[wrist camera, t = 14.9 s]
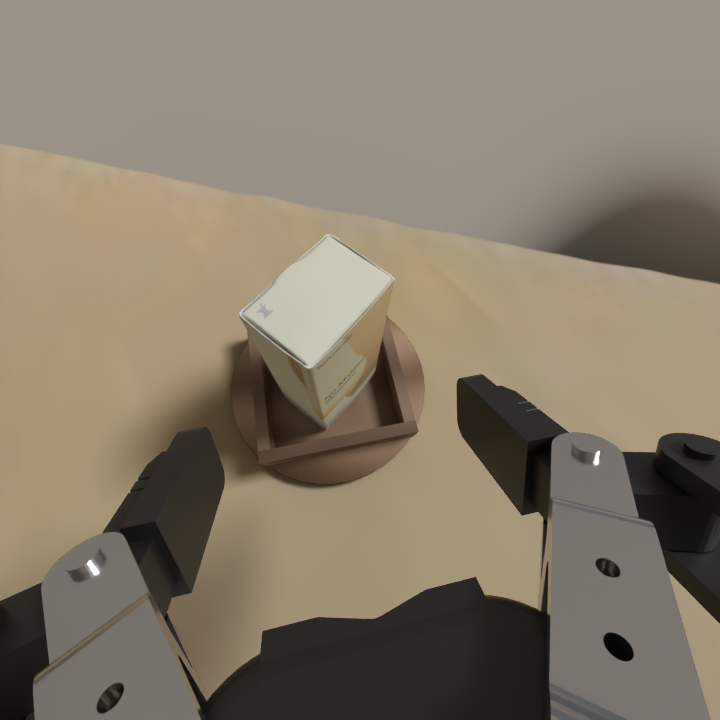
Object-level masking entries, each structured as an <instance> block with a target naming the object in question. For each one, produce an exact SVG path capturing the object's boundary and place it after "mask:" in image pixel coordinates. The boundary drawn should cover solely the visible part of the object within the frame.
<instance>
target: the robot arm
mask: <svg viewBox="0 0 720 720" xmlns="http://www.w3.org/2000/svg"><path fill="white" fill-rule="evenodd" d="M457 421H458V426H459V430H460V433H461V435H462V437H463V438H464V440H465V441H466V442H467V444H468V445H469V446H470V447H471V449H472V450H473V451H474V453H475V454H476V455H477V457H478V458H479V459H480V461H481V462H482V463H483V465H484V466H485V467H486V469H487V470H488V471H489V473H490V474H491V475H492V477H493V478H494V479H495V481H496V482H497V483H498V485H499V486H500V487H501V489H502V490H503V491H504V492H505V494H506V495H507V496H508V498H509V499H510V500H511V502H512V503H513V504H514V506H515V507H516V508H517V510H518V511H519V512H520V514H521V515H526V514H530V513H535V512H539V513H540V514H541V516H542V517H543V524H542V541H541V562H540V583H539V599H538V609H536V608H534V607H531V606H529V605H526V604H524V603H521V602H518V601H515V600H511V599H508V598H504V597H498V596H491V595H484V593H483V591H482V589H481V587H480V585H479V583H478V581H477V579H476V577H474V578H470V579H466V580H462V581H458V582H454V583H450V584H446V585H443V586H439V587H435V588H431V589H427V590H425V591H423V592H421V593H419V594H418V595H416V596H414V597H413V598H411V599H409V600H408V601H406V602H404V603H402V604H401V605H399V606H397V607H396V608H394V609H392V610H391V611H389V612H387V613H385V614H384V615H382V616H380V617H378V618H375V619H351V618H324V617H317V618H313V619H309V620H305V621H301V622H297V623H293V624H289V625H285V626H281V627H277V628H273V629H269V630H265V631H263V633H262V643H261V653H260V654H259V655H257V656H255V657H254V658H252V659H251V660H249V661H248V662H247V663H245V664H244V665H242V666H241V667H240V668H238V669H237V670H236V671H235V672H234V673H233V674H232V675H231V676H229V677H228V678H227V679H226V680H225V681H224V682H223V683H222V684H221V685H220V686H219V687H218V689H217V690H216V691H215V692H214V693H213V694H212V695H211V696H210V698H209V696H208V694H207V692H206V690H205V688H204V687H203V685H202V683H201V681H200V679H199V676H198V674H197V672H196V670H195V668H194V666H193V664H192V662H191V660H190V657H189V655H188V653H187V651H186V649H185V647H184V645H183V643H182V640H181V638H180V636H179V634H178V632H177V630H176V628H175V626H174V624H173V621H172V619H171V617H170V616H169V614H168V612H167V610H168V607H169V604H170V602H171V599H172V597H176V596H181V595H185V594H189V593H192V590H193V587H194V583H195V580H196V577H197V573H198V570H199V567H200V564H201V560H202V557H203V554H204V551H205V547H206V544H207V541H208V538H209V534H210V531H211V528H212V525H213V521H214V518H215V515H216V511H217V508H218V505H219V502H220V498H221V495H222V492H223V489H224V482H225V477H224V470H223V466H222V463H221V461H220V458H219V455H218V452H217V450H216V447H215V444H214V442H213V439H212V436H211V433H210V431H209V430H208V429H207V428H206V427H203V428H198V429H192V430H187V431H182V432H179V433H178V434H177V435H176V437H175V438H174V440H173V441H172V443H171V445H170V446H169V448H168V450H167V451H165V452H161V453H160V454H159V455H158V456H157V457H156V458H155V459H153V460H152V461H151V462H150V463H149V464H148V465H147V466H146V467H145V469H144V470H143V472H142V473H141V475H140V477H139V478H138V481H137V482H136V483H135V484H134V486H133V487H132V489H131V490H130V491H131V493H128V495H127V496H126V498H125V499H124V501H123V502H122V504H121V505H120V507H119V508H118V510H117V511H116V513H115V515H114V516H113V518H112V519H111V521H110V522H109V524H108V525H107V527H106V528H105V530H104V531H103V533H102V534H100V535H97V536H94V537H92V538H89V539H87V540H85V541H84V542H82V543H80V544H78V545H77V546H75V547H74V548H72V549H71V550H70V551H68V552H67V553H66V554H65V555H63V556H62V557H61V558H60V559H59V560H58V561H57V562H56V563H55V564H54V565H53V566H52V567H51V569H50V570H49V571H48V573H47V574H46V576H45V578H44V580H43V582H42V583H40V584H38V585H35V586H33V587H31V588H29V589H26V590H24V591H22V592H20V593H18V594H15V595H13V596H11V597H9V598H6V599H4V600H2V601H0V720H710V716H709V713H708V709H707V706H706V702H705V699H704V696H703V692H702V689H701V685H700V682H699V678H698V675H697V671H696V668H695V664H694V661H693V657H692V654H691V650H690V647H689V643H688V640H687V636H686V633H685V629H684V626H683V623H682V619H681V616H680V612H679V609H678V605H677V602H676V598H675V595H674V591H673V588H672V584H671V581H670V577H669V574H668V572H669V573H670V574H671V575H672V576H673V577H674V578H675V579H676V580H677V581H678V582H679V583H680V584H681V585H682V586H683V587H684V588H685V589H686V590H687V591H688V592H689V593H690V594H691V595H692V596H693V597H694V598H695V599H696V600H697V601H698V602H699V603H700V604H701V605H702V606H703V607H704V608H705V609H706V610H707V611H708V612H709V613H710V614H711V615H712V616H713V617H714V618H715V619H716V620H717V621H718V622H719V623H720V442H719V441H717V440H714V439H711V438H708V437H704V436H700V435H695V434H687V433H672V434H667V435H664V436H662V437H661V438H660V439H659V442H658V446H657V449H656V453H654V452H621V451H620V450H619V449H618V448H617V447H616V446H615V445H614V444H612V443H610V442H609V441H607V440H605V439H603V438H600V437H597V436H594V435H591V434H586V433H576V432H572V433H569V432H568V431H566V430H565V429H564V428H562V427H561V426H560V425H559V424H557V423H556V422H555V421H553V420H552V419H551V418H550V417H548V416H547V415H546V414H544V413H543V412H542V411H540V410H539V409H537V408H536V407H535V406H534V405H533V404H531V403H530V402H527V400H526V399H525V398H524V397H522V396H521V395H520V394H519V393H517V392H516V391H513V390H511V389H508V388H506V387H503V386H496V385H495V384H494V383H492V382H491V381H490V380H489V379H488V378H486V377H485V376H484V375H482V374H480V375H474V376H469V377H464V378H459V379H458V381H457Z"/></svg>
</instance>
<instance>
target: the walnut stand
mask: <svg viewBox="0 0 720 720" xmlns="http://www.w3.org/2000/svg"><path fill="white" fill-rule="evenodd" d="M247 331H248V330H247ZM424 391H425V386H424V375H423V371H422V366H421V363H420V360H419V357H418V355H417V352H416V351H415V349H414V347H413V345H412V343H411V342H410V340H409V339H408V337H407V336H406V335H405V333H404V332H403V331H402V330H401V329H400V328H399V327H398V326H397V325H396V324H395V323H394V322H392V321H391V320H390V319H389V318H388V316H386V321H385V326H384V331H383V336H382V341H381V345H380V350H379V355H378V360H377V365H376V370H375V373H374V375H373V376H372V377H371V379H370V380H369V381H368V382H367V384H366V385H365V386H364V387H363V389H362V390H361V391H360V393H359V394H358V395H357V396H356V398H355V399H354V400H353V401H352V402H351V403H350V405H349V406H348V407H347V408H346V409H345V410H344V412H343V413H342V414H341V415H340V416H339V417H338V418H337V419H336V421H335V422H334V423H333V424H332V425H331V426H330V427H329V428H328V429H327V430H323V429H322V428H321V427H319V426H318V425H317V424H315V423H314V422H313V421H312V420H310V419H309V418H308V417H307V416H306V415H304V414H303V413H302V412H301V411H300V410H299V409H298V408H296V407H295V406H294V405H293V404H292V403H291V402H290V401H289V400H287V399H286V398H285V396H284V394H283V393H282V391H281V389H280V387H279V386H278V384H277V382H276V380H275V378H274V377H273V375H272V373H271V371H270V370H269V368H268V366H267V364H266V363H265V361H264V359H263V357H262V355H261V353H260V352H259V350H258V348H257V346H256V345H255V343H254V341H253V339H252V338H251V336H250V334H249V332H248V343H247V345H246V346H245V348H244V350H243V351H242V353H241V355H240V358H239V360H238V362H237V365H236V368H235V372H234V375H233V382H232V407H233V413H234V417H235V420H236V424H237V426H238V428H239V430H240V433H241V435H242V437H243V438H244V440H245V441H246V443H247V445H248V446H249V447H250V448H251V450H252V451H253V452H254V453H255V454H256V455H257V457H258V460H259V464H260V465H263V466H266V467H267V466H270V467H271V468H273V469H274V470H276V471H278V472H279V473H282V474H284V475H286V476H288V477H291V478H293V479H297V480H300V481H304V482H309V483H316V484H336V483H343V482H349V481H352V480H355V479H359V478H362V477H364V476H366V475H368V474H371V473H373V472H374V471H376V470H378V469H379V468H381V467H382V466H384V465H385V464H386V463H388V462H389V461H390V460H391V459H392V458H394V457H395V456H396V455H397V454H398V452H399V451H400V450H401V449H402V448H403V447H404V446H405V444H406V443H407V442H408V440H409V439H410V437H413V436H414V435H415V434H416V433H417V432H418V428H417V424H418V421H419V418H420V415H421V412H422V408H423V403H424Z"/></svg>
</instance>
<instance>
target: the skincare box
mask: <svg viewBox="0 0 720 720" xmlns="http://www.w3.org/2000/svg"><path fill="white" fill-rule="evenodd" d="M393 283H394V277H393V276H391V275H390V274H388V273H387V272H385V271H384V270H383V269H381V268H380V267H379V266H377V265H376V264H374V263H373V262H371V261H370V260H369V259H367V258H366V257H364V256H363V255H362V254H360V253H358V252H357V251H356V250H354V249H353V248H351V247H350V246H349V245H347V244H346V243H344V242H343V241H341V240H340V239H338V238H337V237H335V236H334V235H332V234H328V235H326V236H324V237H323V238H322V239H321V240H320V241H319V242H318V243H317V244H315V245H314V246H313V247H312V248H311V249H310V250H309V251H308V252H306V253H305V254H304V255H303V256H302V257H301V258H300V259H298V260H297V261H296V262H295V263H294V264H292V265H291V266H290V267H288V268H287V269H286V270H285V271H284V272H283V273H282V274H281V275H280V276H279V277H278V278H277V279H276V280H275V281H274V282H273V283H272V284H271V285H269V286H268V287H267V288H266V289H265V290H264V291H263V292H262V293H261V294H259V295H258V296H257V297H256V298H255V299H254V300H253V301H252V302H250V303H249V304H248V305H247V306H246V307H245V308H244V309H242V310H241V311H240V312H239V316H240V318H241V320H242V322H243V324H244V325H245V327H246V329H247V330H248V332H249V334H250V336H251V338H252V339H253V341H254V343H255V345H256V346H257V348H258V350H259V352H260V353H261V355H262V357H263V359H264V361H265V363H266V364H267V366H268V368H269V370H270V371H271V373H272V375H273V377H274V378H275V380H276V382H277V384H278V386H279V387H280V389H281V391H282V393H283V394H284V396H285V398H286V399H287V400H289V401H290V402H291V403H292V404H293V405H294V406H295V407H296V408H298V409H299V410H300V411H301V412H302V413H303V414H304V415H306V416H307V417H308V418H309V419H310V420H312V421H313V422H314V423H315V424H317V425H318V426H319V427H321V428H322V429H323V430H327V429H328V428H329V427H330V426H331V425H332V424H333V423H334V422H335V421H336V419H337V418H338V417H339V416H340V415H341V414H342V413H343V412H344V410H345V409H346V408H347V407H348V406H349V405H350V403H351V402H352V401H353V400H354V399H355V398H356V396H357V395H358V394H359V393H360V391H361V390H362V389H363V387H364V386H365V385H366V384H367V382H368V381H369V380H370V379H371V377H372V376H373V375H374V373H375V370H376V365H377V360H378V355H379V350H380V345H381V341H382V336H383V331H384V326H385V321H386V316H387V312H388V307H389V302H390V298H391V292H392V288H393Z"/></svg>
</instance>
